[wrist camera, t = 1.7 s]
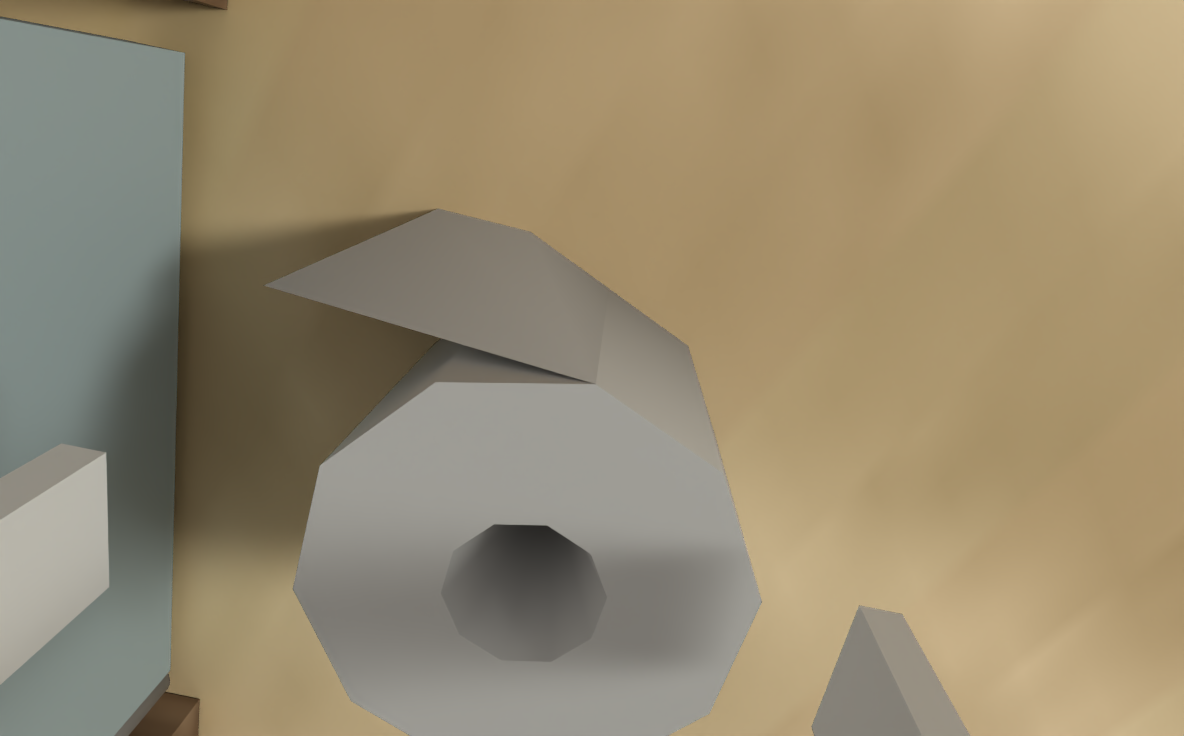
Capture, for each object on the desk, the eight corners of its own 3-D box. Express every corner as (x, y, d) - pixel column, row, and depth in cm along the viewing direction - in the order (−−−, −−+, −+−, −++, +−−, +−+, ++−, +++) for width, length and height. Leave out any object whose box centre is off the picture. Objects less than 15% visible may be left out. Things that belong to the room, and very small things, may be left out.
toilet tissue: (406, 141, 20) (254, 146, 12) (772, 407, 22) (856, 565, 14) (259, 385, 23) (51, 524, 15) (599, 605, 25) (584, 838, 16)
